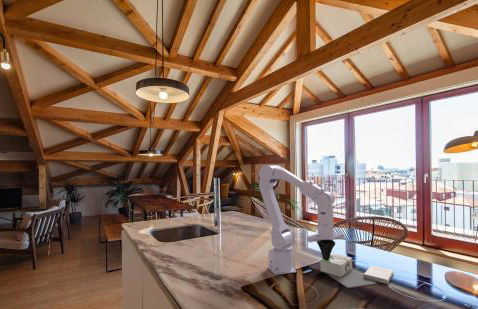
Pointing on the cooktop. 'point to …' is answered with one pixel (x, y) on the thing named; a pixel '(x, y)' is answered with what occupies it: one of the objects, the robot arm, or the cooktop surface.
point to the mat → (353, 279)
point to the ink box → (336, 265)
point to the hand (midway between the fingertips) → (325, 259)
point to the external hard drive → (378, 274)
